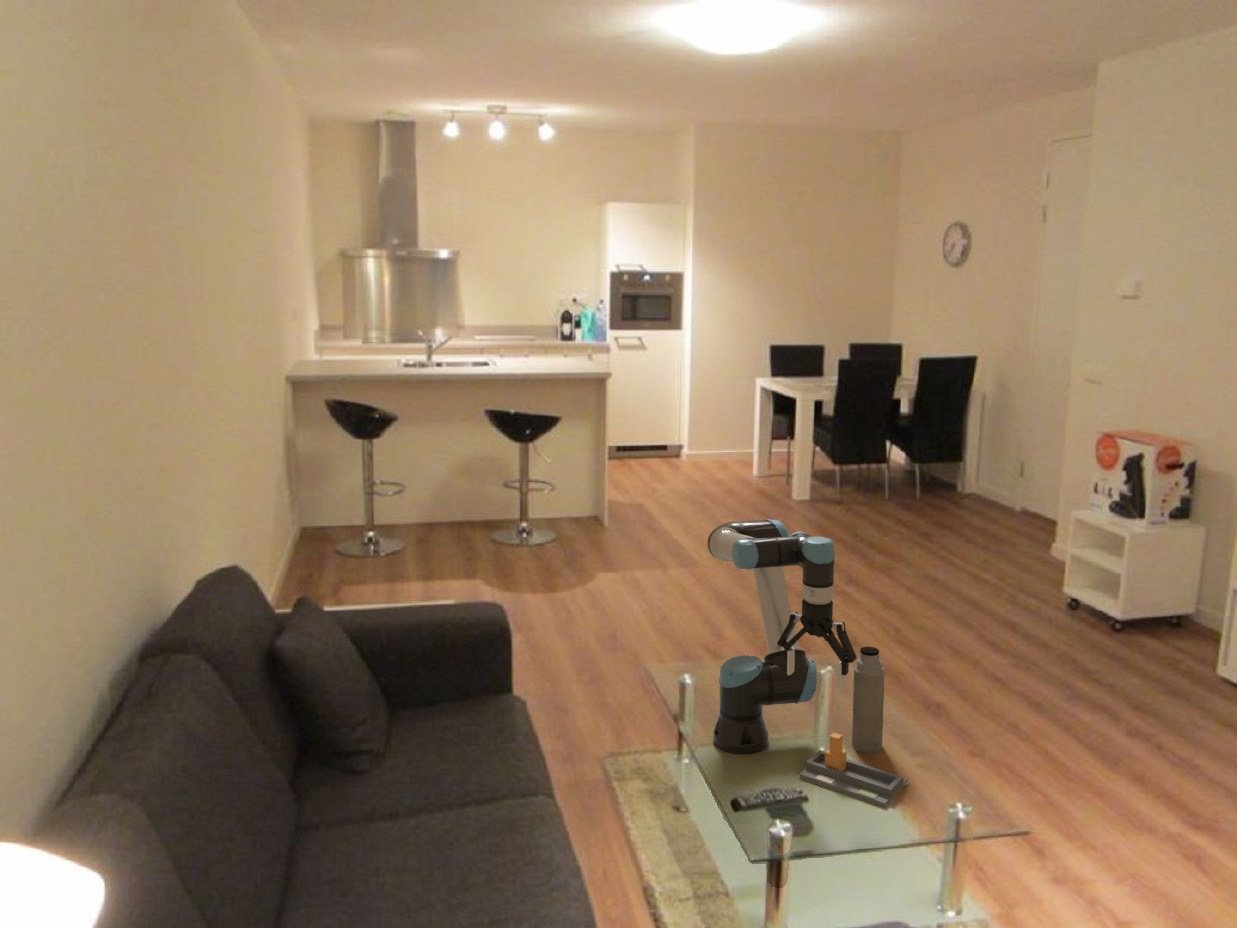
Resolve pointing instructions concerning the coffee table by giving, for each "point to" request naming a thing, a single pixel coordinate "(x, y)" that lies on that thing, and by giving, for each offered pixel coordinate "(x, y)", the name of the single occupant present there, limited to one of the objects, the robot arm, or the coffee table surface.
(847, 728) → the coffee table surface
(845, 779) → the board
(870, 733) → the thermos bottle
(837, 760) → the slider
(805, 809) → the coffee table surface
